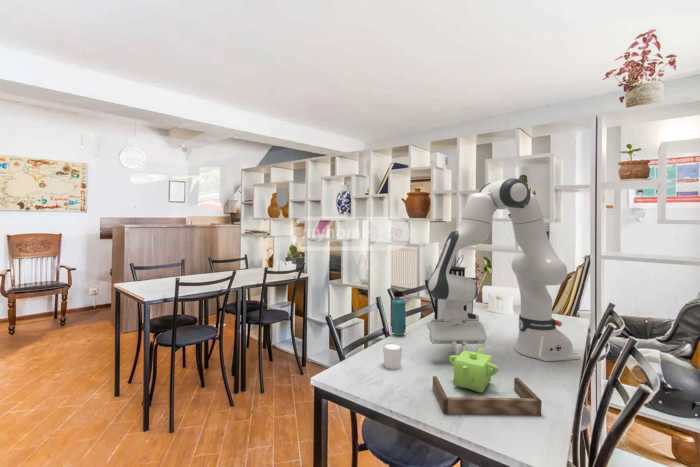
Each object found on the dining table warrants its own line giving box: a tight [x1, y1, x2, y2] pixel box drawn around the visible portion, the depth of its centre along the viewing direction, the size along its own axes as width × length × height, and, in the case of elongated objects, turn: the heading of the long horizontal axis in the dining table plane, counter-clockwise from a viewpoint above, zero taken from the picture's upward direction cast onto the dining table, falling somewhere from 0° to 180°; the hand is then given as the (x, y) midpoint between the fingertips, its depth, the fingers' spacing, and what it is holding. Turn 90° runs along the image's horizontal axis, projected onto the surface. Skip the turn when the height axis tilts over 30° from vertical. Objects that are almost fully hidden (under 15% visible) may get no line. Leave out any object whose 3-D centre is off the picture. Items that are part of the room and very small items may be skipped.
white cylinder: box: [382, 343, 403, 370], centre depth 129 cm, size 7×7×7 cm
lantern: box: [433, 255, 478, 319], centre depth 176 cm, size 17×17×35 cm
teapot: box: [448, 347, 500, 394], centre depth 115 cm, size 15×13×11 cm
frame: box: [432, 375, 543, 416], centre depth 105 cm, size 26×14×4 cm, turn 89°
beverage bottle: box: [390, 290, 407, 335], centre depth 162 cm, size 6×7×20 cm
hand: (461, 354), depth 128 cm, fingers closed
